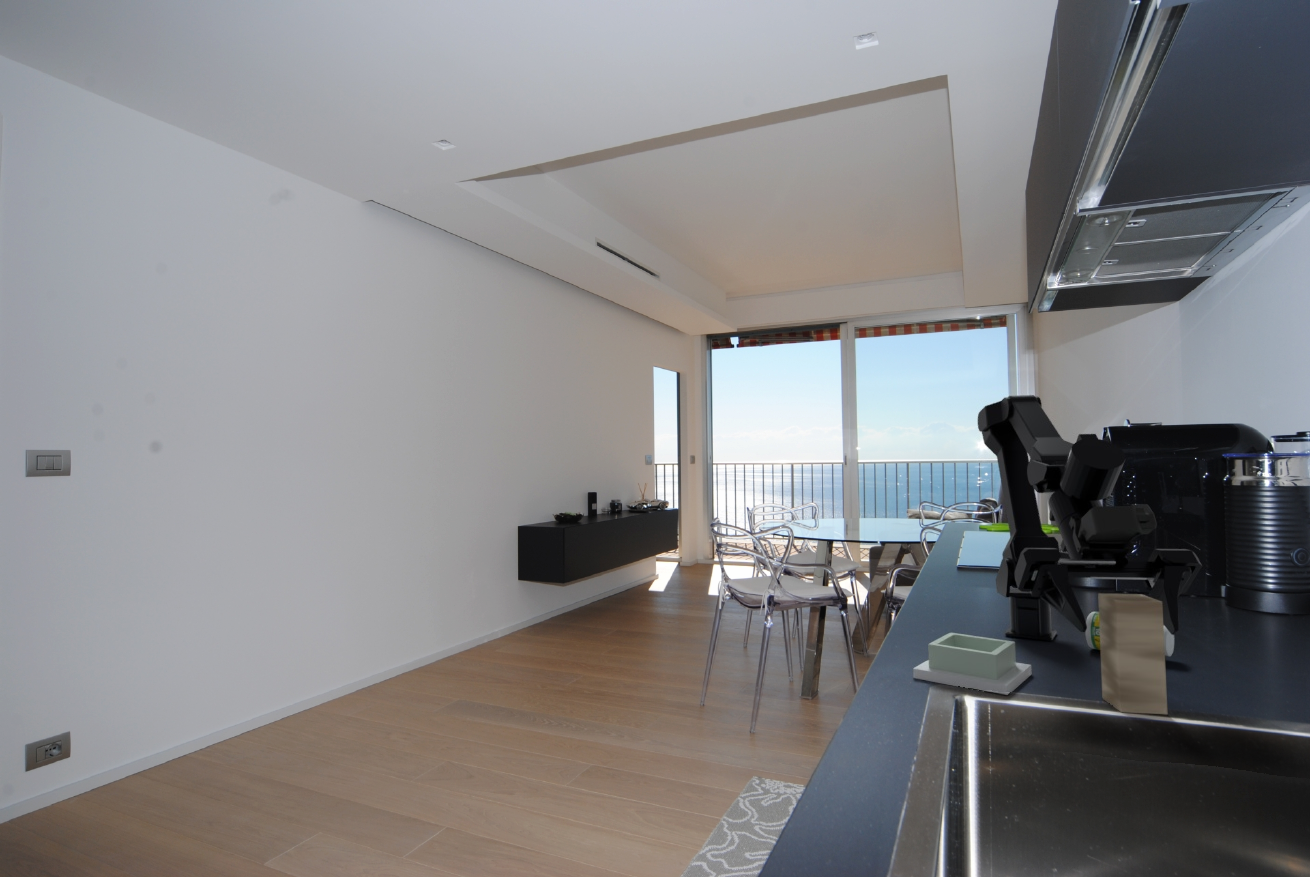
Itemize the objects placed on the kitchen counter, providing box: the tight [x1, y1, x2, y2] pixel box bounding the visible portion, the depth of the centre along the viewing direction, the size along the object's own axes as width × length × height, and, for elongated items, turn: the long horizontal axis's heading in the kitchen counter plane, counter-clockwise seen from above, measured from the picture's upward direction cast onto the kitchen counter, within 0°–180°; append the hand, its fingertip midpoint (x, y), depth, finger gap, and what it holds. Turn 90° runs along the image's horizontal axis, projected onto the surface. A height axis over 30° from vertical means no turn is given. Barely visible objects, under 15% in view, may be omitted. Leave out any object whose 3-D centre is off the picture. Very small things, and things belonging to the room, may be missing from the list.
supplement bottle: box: [1084, 611, 1175, 657], centre depth 97 cm, size 5×5×10 cm
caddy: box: [912, 632, 1033, 693], centre depth 88 cm, size 11×11×4 cm
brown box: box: [1097, 592, 1168, 715], centre depth 77 cm, size 4×4×12 cm
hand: (1129, 631), depth 77 cm, fingers open, 9 cm apart
